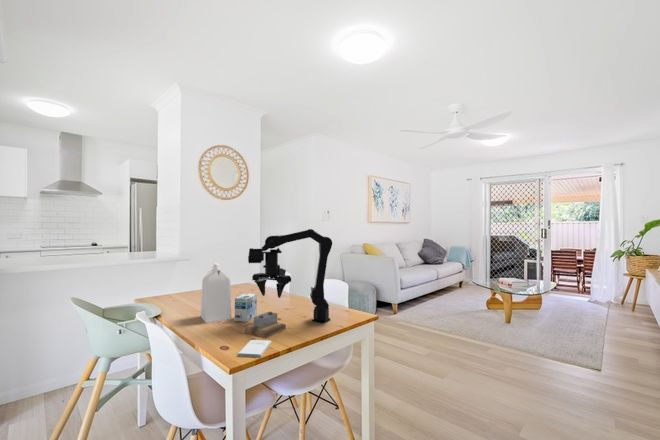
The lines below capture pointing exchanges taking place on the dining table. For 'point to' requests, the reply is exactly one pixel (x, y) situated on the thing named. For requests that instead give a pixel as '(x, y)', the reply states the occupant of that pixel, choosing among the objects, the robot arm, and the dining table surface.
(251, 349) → the external hard drive
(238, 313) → the light bulb box
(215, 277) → the milk
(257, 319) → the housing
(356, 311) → the dining table surface
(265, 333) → the tray
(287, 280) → the robot arm
